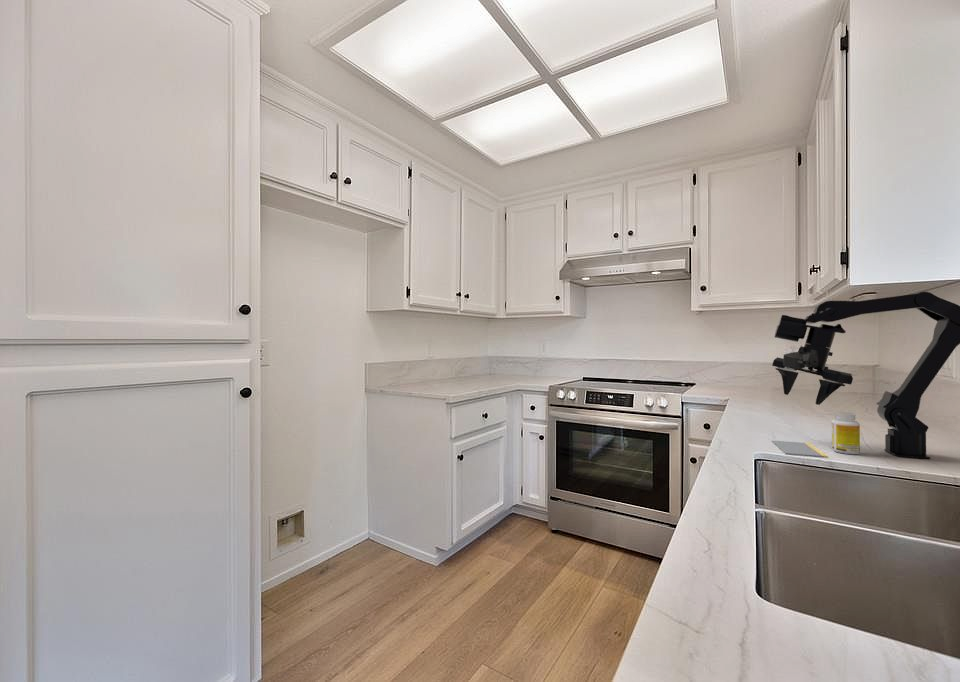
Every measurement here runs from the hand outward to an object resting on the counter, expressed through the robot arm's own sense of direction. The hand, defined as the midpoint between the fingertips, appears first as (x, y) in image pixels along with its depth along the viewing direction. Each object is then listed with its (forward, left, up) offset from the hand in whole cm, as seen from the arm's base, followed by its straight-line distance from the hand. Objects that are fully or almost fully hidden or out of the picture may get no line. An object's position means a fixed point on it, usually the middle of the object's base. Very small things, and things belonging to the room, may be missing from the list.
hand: (801, 399), depth 119 cm
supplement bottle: (-8, +5, -13) cm, 16 cm away
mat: (+3, +6, -13) cm, 14 cm away
